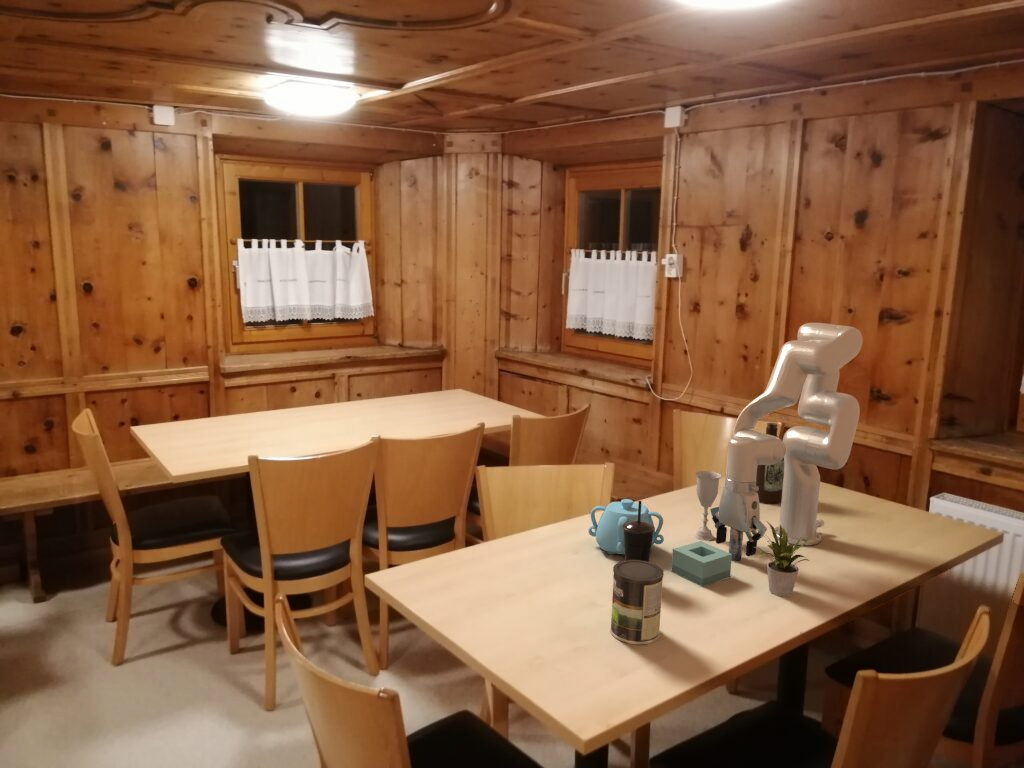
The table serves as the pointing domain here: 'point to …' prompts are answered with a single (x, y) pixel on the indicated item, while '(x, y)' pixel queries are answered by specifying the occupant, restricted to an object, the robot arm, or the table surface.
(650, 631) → the coffee can
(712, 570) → the bore block
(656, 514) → the decorative pot
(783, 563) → the house plant
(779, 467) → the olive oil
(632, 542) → the drinking cup
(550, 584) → the table surface
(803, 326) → the robot arm
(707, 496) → the chalice
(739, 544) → the pin
